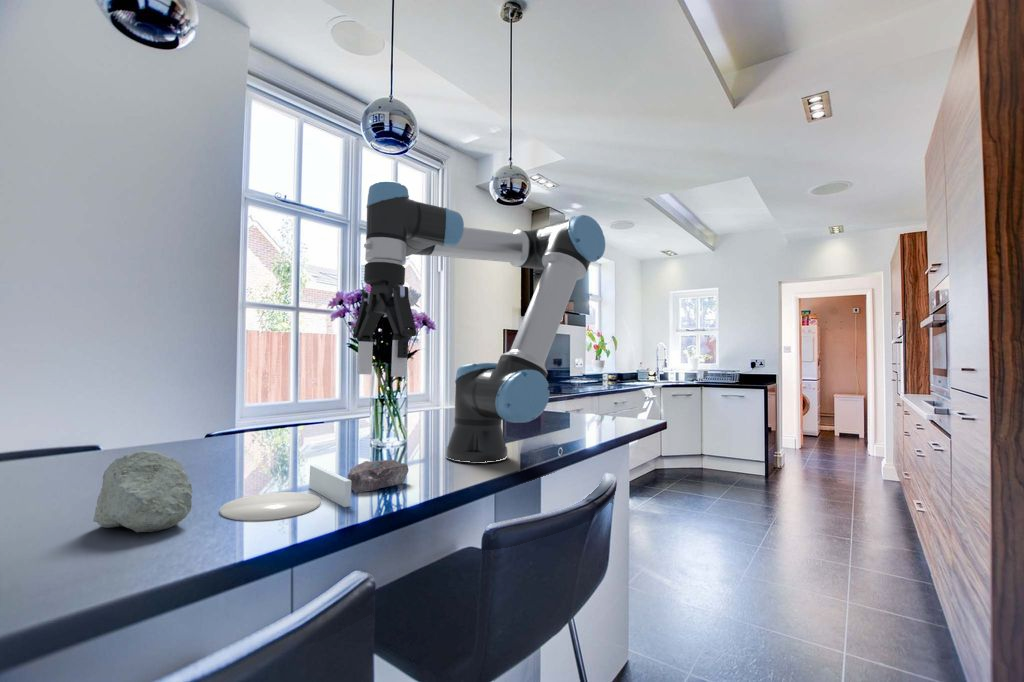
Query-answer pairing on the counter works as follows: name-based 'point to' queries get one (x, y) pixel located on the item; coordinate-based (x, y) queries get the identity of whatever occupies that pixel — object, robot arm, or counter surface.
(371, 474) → the rock
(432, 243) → the robot arm
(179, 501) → the decorative stone
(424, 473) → the counter surface
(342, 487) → the divider wall
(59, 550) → the counter surface
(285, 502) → the pad
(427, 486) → the counter surface
